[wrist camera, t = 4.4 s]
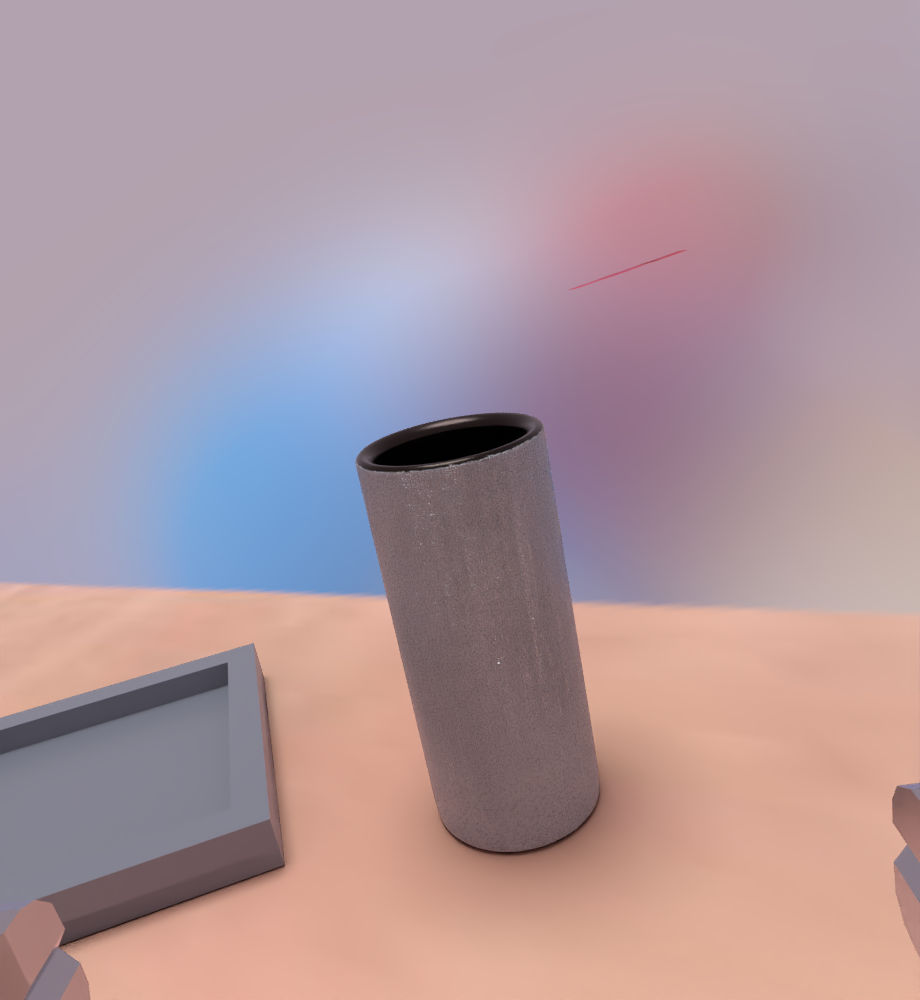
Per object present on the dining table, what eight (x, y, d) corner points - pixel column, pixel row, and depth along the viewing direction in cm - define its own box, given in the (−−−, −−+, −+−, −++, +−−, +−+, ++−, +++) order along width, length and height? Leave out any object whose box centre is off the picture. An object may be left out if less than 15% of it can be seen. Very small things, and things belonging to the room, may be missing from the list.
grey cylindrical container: (422, 857, 21) (327, 479, 17) (454, 747, 25) (382, 426, 22) (600, 854, 20) (534, 452, 16) (602, 740, 24) (549, 401, 21)
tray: (-178, 1030, 19) (-206, 982, 18) (-38, 768, 29) (-54, 733, 29) (284, 864, 21) (269, 818, 21) (263, 676, 31) (253, 643, 31)
